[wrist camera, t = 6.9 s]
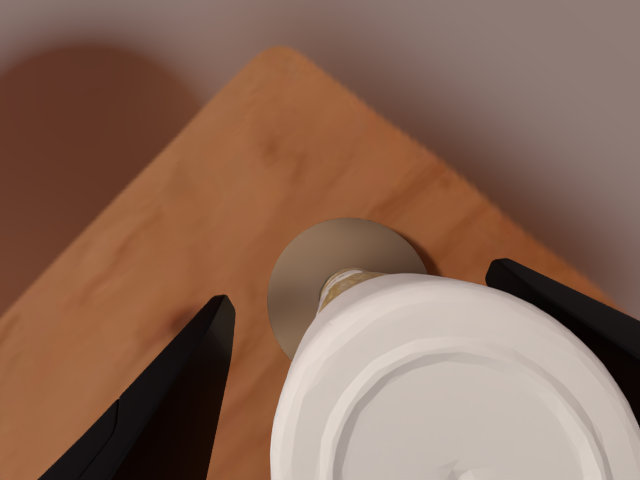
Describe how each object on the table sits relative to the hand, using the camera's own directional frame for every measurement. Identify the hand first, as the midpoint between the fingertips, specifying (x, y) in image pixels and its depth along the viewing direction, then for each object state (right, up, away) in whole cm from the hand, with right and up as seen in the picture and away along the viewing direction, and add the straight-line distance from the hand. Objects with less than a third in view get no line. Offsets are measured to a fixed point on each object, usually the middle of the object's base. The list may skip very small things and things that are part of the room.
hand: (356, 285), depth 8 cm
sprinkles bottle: (+1, -3, +8) cm, 8 cm away
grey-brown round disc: (+1, -3, +9) cm, 10 cm away
